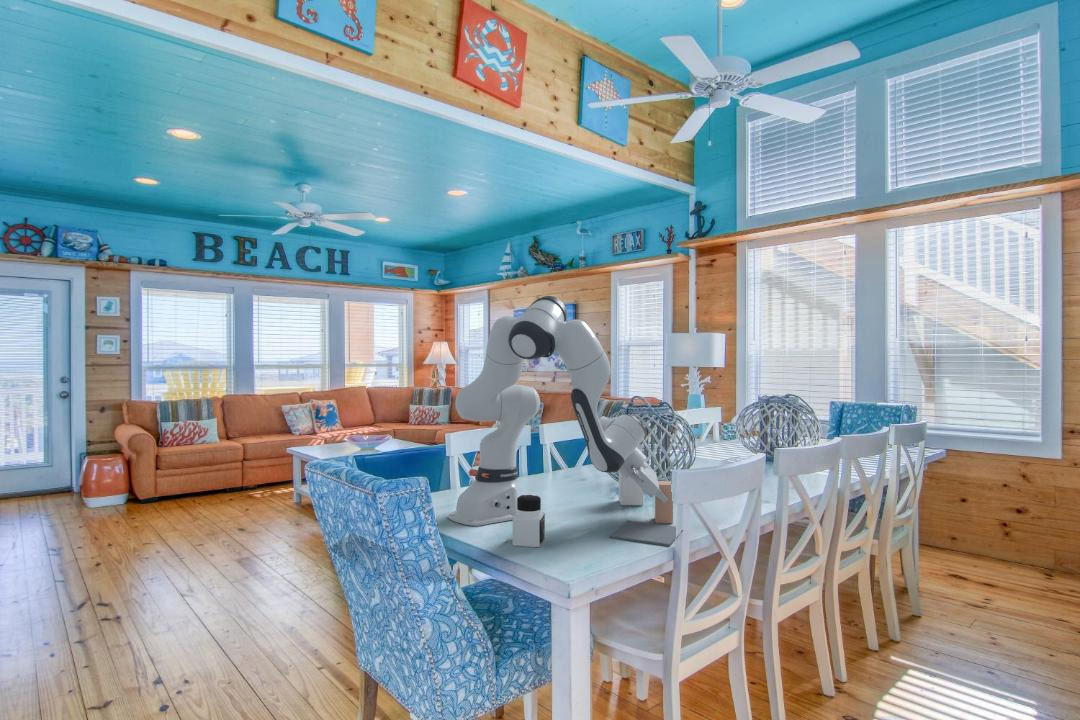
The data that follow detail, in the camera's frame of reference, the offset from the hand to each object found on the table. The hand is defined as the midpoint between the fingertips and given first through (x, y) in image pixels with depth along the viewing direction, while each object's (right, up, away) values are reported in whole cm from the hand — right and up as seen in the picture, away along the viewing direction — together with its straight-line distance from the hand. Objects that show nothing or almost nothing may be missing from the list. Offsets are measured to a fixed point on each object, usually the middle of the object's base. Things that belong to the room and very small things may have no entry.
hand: (665, 498), depth 172 cm
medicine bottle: (-40, -7, -21) cm, 45 cm away
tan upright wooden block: (-1, -7, 0) cm, 7 cm away
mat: (-8, -7, -13) cm, 16 cm away
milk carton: (-7, -7, +21) cm, 23 cm away
